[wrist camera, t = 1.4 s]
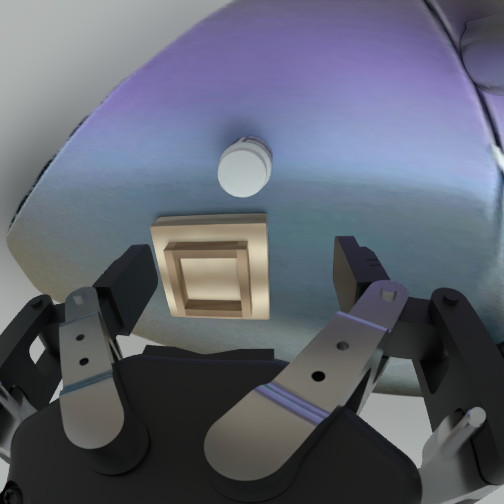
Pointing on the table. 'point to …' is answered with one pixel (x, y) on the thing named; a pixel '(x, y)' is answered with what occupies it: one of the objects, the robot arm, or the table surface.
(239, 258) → the wooden base
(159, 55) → the table surface
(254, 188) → the pill bottle
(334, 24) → the table surface
